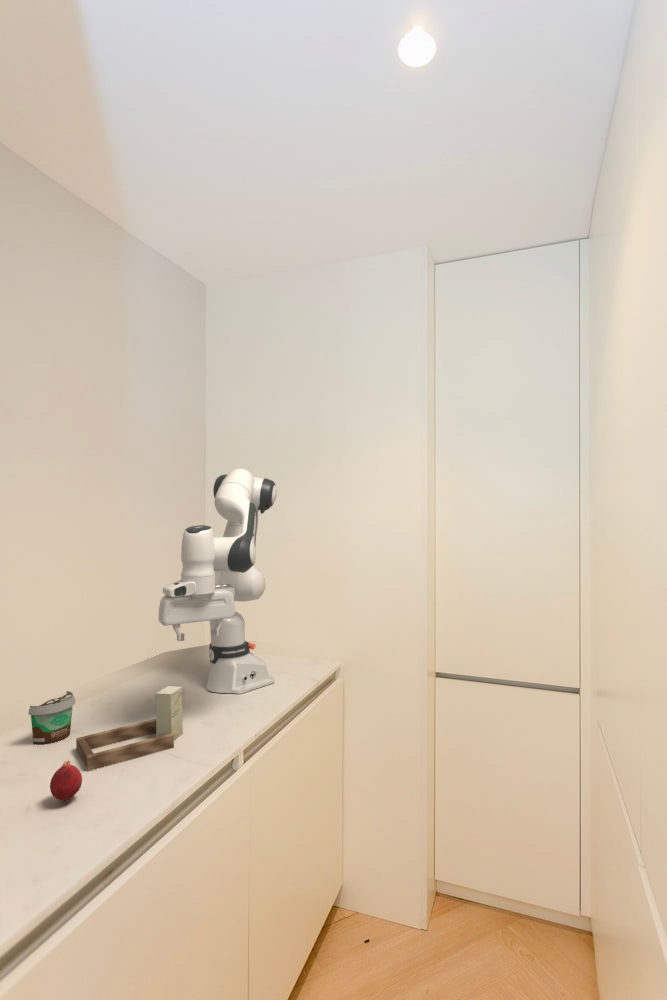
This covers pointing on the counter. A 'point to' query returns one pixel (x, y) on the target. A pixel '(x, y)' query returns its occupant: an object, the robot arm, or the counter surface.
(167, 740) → the u rest
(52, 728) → the food container
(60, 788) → the red pomegranate
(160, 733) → the skincare box
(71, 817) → the counter surface
